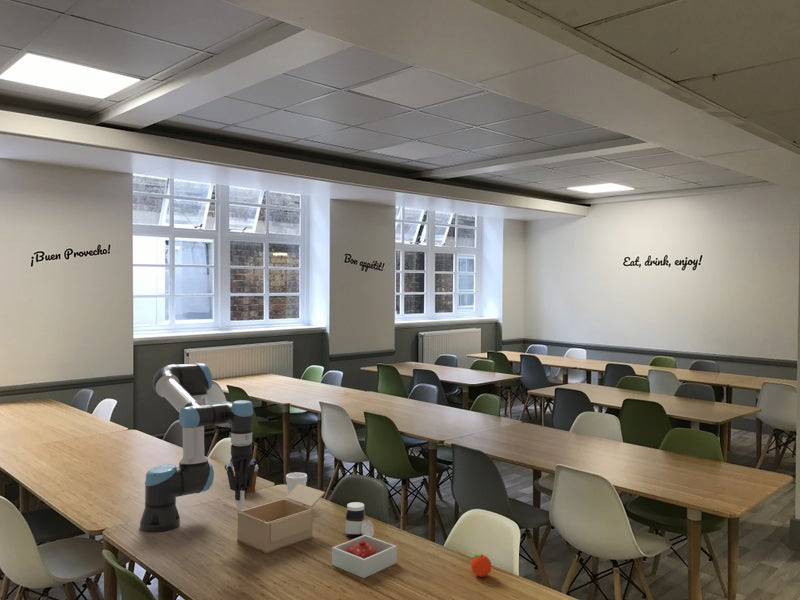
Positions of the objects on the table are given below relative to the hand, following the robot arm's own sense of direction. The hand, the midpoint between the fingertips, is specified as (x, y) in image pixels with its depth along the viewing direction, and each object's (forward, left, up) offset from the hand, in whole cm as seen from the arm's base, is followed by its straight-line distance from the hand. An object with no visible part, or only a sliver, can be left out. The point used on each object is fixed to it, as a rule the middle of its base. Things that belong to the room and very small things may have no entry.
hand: (240, 508), depth 228 cm
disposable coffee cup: (+46, +59, -16) cm, 76 cm away
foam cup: (+49, +27, -16) cm, 58 cm away
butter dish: (+23, -40, -17) cm, 49 cm away
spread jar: (+42, -20, -16) cm, 49 cm away
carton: (+17, +1, -16) cm, 23 cm away
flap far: (+31, +1, -2) cm, 32 cm away
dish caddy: (+24, -40, -16) cm, 49 cm away
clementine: (+44, -75, -16) cm, 89 cm away
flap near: (+2, +1, -2) cm, 3 cm away
